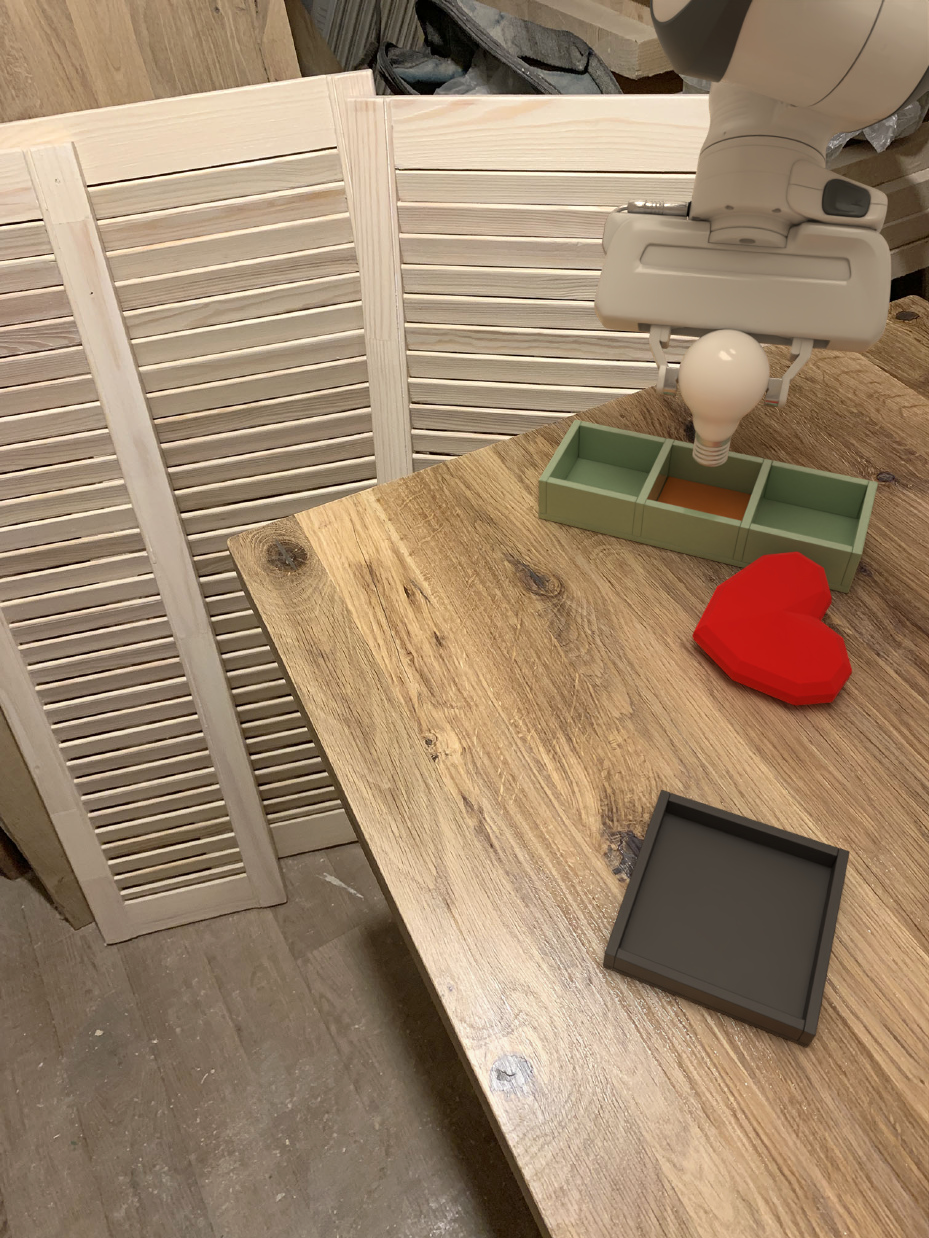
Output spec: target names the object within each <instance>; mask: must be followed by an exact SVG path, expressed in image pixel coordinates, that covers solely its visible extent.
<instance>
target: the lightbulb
mask: <svg viewBox="0 0 929 1238" xmlns="http://www.w3.org/2000/svg"><path fill="white" fill-rule="evenodd" d="M678 368H679V372H678V384H677V386H678V390H679V393H680V395H681V398H682V400H683V402H684V403H685V405H686V407H687V408H688V409H689V411H690V413H691V415H692V424H693V428H694V430H695V434H694V442H693V444H694V447H693V453H692V456H693V459H694V460H695V461H696V462H697V463H699V464H701V465H704V466H708V467H715V466H719V465H722V464H723V463H725V462H726V461H727V458H728V452H729V451H730V447H731V442H732V437H733V435H734V434H735V432H736V431H737V429H738V428H739V425H740V423H741V421H742V419H744V418H745V417H746V416H747V415H748V414H749V413H751V412H752V410H753V409H755V408H756V406H758V404H759V403H760V402H761V401H762V399H764V397H765V395H766V390H767V387H768V384H769V379H770V378H771V377H770V376H771V365H770V361H769V358H768V354H767V353H766V351H765V348H764V347H763V346H762V345H761V343H758V341H756V340H755V339H754V338H753V337H751V336H750V335H748V334H746V333H744V332H741V331H737V330H731V329H723V330H717V331H713V332H710V333H708V334H706V335H704V336H702V337H700V338H697V339H696V340H695V341H694V342H693V343H692V344H691V345H690V346H689V348H687V350H686V351H685V352H684V354H683V357H682V359H681V361H680V364H679V367H678Z"/></svg>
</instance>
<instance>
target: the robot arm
mask: <svg viewBox="0 0 929 1238" xmlns="http://www.w3.org/2000/svg"><path fill="white" fill-rule="evenodd" d="M649 12H650V13H649V14H650V18H651V22H652V25H653V29H654V31H655V34H656V37H657V40H658V42H659V44H660V47H661V49H662V51H663V53H664V55H665V57H666V59H667V61H668V63H669V64H670V66H671V68H672V69H673V71H674V73H675V74H677V75H680V76H685V77H688V78H689V77H690V78H695V79H699V80H702V81H703V80H704V81H708V82H710V87H709V92H708V112H709V126H708V132H707V134H706V137H705V140H704V142H703V143H702V146H701V148H700V151H699V155H698V158H697V159H698V160H697V165H696V171H695V175H694V176H695V177H694V183H693V189H692V195H691V200H690V201H677V200H661V201H655V200H654V201H653V200H648V199H645V198H632V199H629V200H628V202H627V203H626V204H622V205H619V206H617V207H615V208H614V209H613V210H612V211H611V212H610V213H609V214H608V215H607V217H606V219H605V222H604V227H603V232H602V238H601V248H602V252H603V254H604V256H605V258H604V261H603V264H602V267H601V270H600V274H599V278H598V282H597V287H596V292H595V295H594V302H593V309H594V314H595V316H596V318H597V319H598V321H599V322H600V324H601V325H602V326H603V328H605V329H607V330H613V331H625V332H636V333H644V334H649V335H648V346H649V350H650V352H651V354H652V358H653V360H654V363H655V365H656V367H657V370H658V374H657V380H656V387H655V394H656V395H659V396H666V397H667V396H668V397H677V395H678V394H677V393H678V390H679V387H678V372H679V367H674V366H673V367H672V366H669V363H668V360H667V358H666V355H665V353H664V350H667V349H669V347H670V342H671V336H677V337H687V338H688V337H689V338H697V339H699V338H700V337H702V336H704V335H706V334H708V333H710V332H713V331H717V330H723V329H731V330H737V331H741V332H744V333H746V334H748V335H750V336H751V337H753V338H754V339H755V340H756V341H758V343H759V344H760V345H761V344H762V345H771V346H772V345H774V346H783V347H789V351H788V358H787V360H788V362H792V364H791V365H790V366H789V367H788V369H786V371H785V372H784V373H783V375H782V376H780V377H781V378H780V377H779V378H778V377H770V379H769V384H768V387H767V390H766V392H765V394H764V397H763V403H762V405H763V407H769V408H776V409H785V407H786V404H787V400H788V395H789V389H790V385H791V384H792V383H793V382H794V381H795V379H796V378H797V376H799V374H800V373H801V372H802V371H803V369H804V368H805V367H806V366H807V364H808V363H809V361H810V359H811V357H812V354H813V349H814V350H815V349H816V350H824V351H825V350H826V351H837V352H846V353H847V352H848V353H854V354H855V353H856V354H862V353H866V352H867V351H868V350H871V348H872V347H874V346H875V345H876V344H877V343H878V342H879V341H880V340H881V339H882V337H883V335H884V333H885V330H886V327H887V322H888V316H889V309H890V301H891V300H890V299H891V285H892V256H891V251H890V247H889V244H888V241H887V240H886V238H884V236H883V235H882V234H881V231H882V229H883V226H884V223H885V221H886V218H887V217H886V216H887V211H888V203H889V201H888V196H887V194H886V193H884V192H883V191H881V190H880V189H877V188H874V187H872V186H870V185H867V184H864V183H861V182H859V181H856V180H853V179H851V178H849V177H846V176H844V175H841V174H839V173H836V172H835V171H833V170H830V169H828V168H826V166H827V156H826V155H827V148H828V145H829V143H830V141H831V140H832V139H833V138H834V137H835V136H836V135H838V134H840V133H843V134H853V133H857V132H860V131H862V130H865V129H867V128H870V127H872V126H875V125H876V124H879V123H881V122H883V121H886V120H887V119H889V118H892V117H893V116H895V115H897V114H899V113H901V112H902V111H904V110H905V109H907V108H908V107H909V106H911V105H913V104H914V103H915V102H916V101H918V100H919V99H920V98H921V97H922V96H923V95H924V94H926V93H927V92H928V91H929V0H649ZM625 211H626V212H625Z"/></svg>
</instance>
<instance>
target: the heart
mask: <svg viewBox="0 0 929 1238" xmlns="http://www.w3.org/2000/svg"><path fill="white" fill-rule="evenodd" d="M832 599H833V598H832V594H831V589H829V585H828V582H827V578H826V574H825V571H824V568H823V567H822V566H820V565H818V564H817V563H815V562H814V561H812V560H810V559H809V558H807V557H806V556H804V555H802V554H801V553H799V552H789V553H779V554H770V555H763V556H761V557H760V558H758V559H757V560H755V561H754V562H752V563H751V564H750V565H748V566H747V567H745V568H742V569H741V570H739V571H738V572H736V573H735V574H734V575H732V576H730V577H729V578H728V579H726V580H725V581H723V582H722V583H720V584H718V585H717V586H716V588H715V590H714V591H713V593H712V596H711V598H710V600H709V601H708V604H707V605H706V607H705V609H704V611H703V613H702V615H701V617H700V619H699V621H698V623H697V625H696V627H695V628H694V631H693V632H692V634H691V637H692V639H693V641H694V642H695V643H696V644H697V645H698V646H699V648H701V649H702V650H703V651H704V652H705V653H706V654H707V655H708V656H709V657H710V659H712V660H713V662H714V663H715V664H716V665H717V666H718V667H719V668H720V669H721V670H722V671H723V672H724V673H725V674H726V675H727V676H728V677H729V678H730V679H731V680H732V681H734V682H736V683H739V684H741V685H743V686H746V687H748V688H751V689H753V690H755V691H759V692H761V693H763V694H765V695H768V696H770V697H773V698H775V699H778V700H780V701H782V702H784V703H787V704H790V705H792V706H805V705H817V704H828V703H829V704H830V703H833V702H834V700H835V699H836V698H837V696H838V695H839V693H840V692H841V691H842V689H843V688H844V686H845V685H846V683H847V682H848V680H849V679H850V677H851V675H852V674H853V668H852V664H851V660H850V656H849V654H848V653H849V652H848V650H847V647H846V644H845V640H844V637H842V636H841V635H840V634H838V633H837V632H836V631H835V630H833V629H832V628H831V627H829V626H828V625H827V624H825V623H824V622H823V621H822V620H823V619H824V616H825V615H826V613H827V612H828V610H829V608H830V606H831V605H832V603H833V600H832Z"/></svg>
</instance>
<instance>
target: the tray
mask: <svg viewBox="0 0 929 1238" xmlns="http://www.w3.org/2000/svg"><path fill="white" fill-rule="evenodd" d="M849 857H850V851H849V850H846V849H844V848H839V847H838V846H834V845H832V844H828V843H825V842H822V841H819V840H817V839H813V838H810V837H808V836H804V835H801V834H798V833H794V832H792V831H789V830H786V829H782V828H780V827H776V826H773V825H771V824H767V823H765V822H762V821H759V820H756V819H752V818H749V817H747V816H743V815H740V814H737V813H734V812H731V811H728V810H724V809H721V808H719V807H715V806H713V805H710V804H706V803H703V802H700V801H697V800H694V799H691V798H689V797H685V796H682V795H679V794H676V793H673V792H670V791H668V790H664V789H661V790H660V791H659V795H658V798H657V800H656V804H655V806H654V809H653V812H652V815H651V817H650V821H649V824H648V826H647V830H646V832H645V835H644V838H643V841H642V844H641V847H640V849H639V852H638V855H637V858H636V860H635V863H634V867H633V869H632V873H631V875H630V877H629V881H628V885H627V887H626V890H625V893H624V896H623V898H622V902H621V904H620V907H619V909H618V913H617V915H616V918H615V921H614V924H613V928H612V930H611V932H610V936H609V938H608V942H607V943H606V944H607V945H606V947H605V950H604V956H603V963H602V967H603V968H605V969H608V970H610V971H613V972H616V973H618V974H621V975H623V976H625V977H628V978H631V979H633V980H635V981H638V982H640V983H643V984H646V985H649V986H651V987H652V988H656V989H659V990H661V991H662V992H663V991H664V992H666V993H668V994H670V995H673V996H676V997H679V998H681V999H683V1000H686V1001H689V1002H691V1003H694V1004H696V1005H699V1006H701V1007H704V1008H706V1009H708V1010H711V1011H713V1012H716V1013H719V1014H721V1015H724V1016H726V1017H728V1018H731V1019H734V1020H737V1021H739V1022H741V1023H744V1024H746V1025H750V1026H751V1027H754V1028H757V1029H759V1030H762V1031H764V1032H766V1033H769V1034H771V1035H774V1036H776V1037H778V1038H781V1039H784V1040H787V1041H788V1042H791V1043H794V1044H797V1045H799V1046H802V1047H804V1048H809V1046H810V1045H811V1043H812V1042H813V1040H814V1039H815V1038H816V1036H817V1030H818V1024H819V1020H820V1014H821V1009H822V1004H823V997H824V994H825V993H824V992H825V989H826V988H825V987H826V982H827V976H828V972H829V971H828V970H829V966H830V961H831V960H830V959H831V955H832V949H833V944H834V938H835V932H836V928H837V922H838V916H839V911H840V905H841V900H842V895H843V890H844V886H845V885H844V884H845V880H846V879H845V878H846V873H847V868H848V863H849Z"/></svg>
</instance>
